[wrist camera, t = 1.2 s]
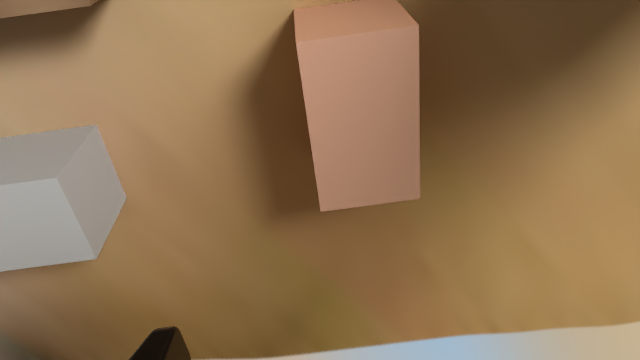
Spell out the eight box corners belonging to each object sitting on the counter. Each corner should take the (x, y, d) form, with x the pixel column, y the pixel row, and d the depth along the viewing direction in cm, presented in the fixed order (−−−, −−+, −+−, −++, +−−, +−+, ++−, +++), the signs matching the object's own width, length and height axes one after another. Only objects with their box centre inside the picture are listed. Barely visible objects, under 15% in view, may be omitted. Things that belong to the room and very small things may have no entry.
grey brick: (97, 123, 19) (56, 177, 16) (127, 196, 21) (96, 259, 17) (-53, 143, 19) (-127, 202, 16) (-10, 214, 21) (-67, 280, 18)
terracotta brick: (293, 8, 17) (295, 42, 14) (392, -6, 17) (419, 25, 14) (314, 155, 20) (320, 211, 17) (397, 144, 20) (420, 198, 17)
